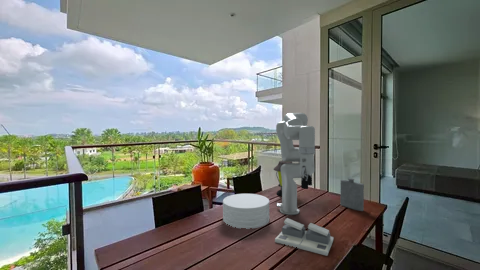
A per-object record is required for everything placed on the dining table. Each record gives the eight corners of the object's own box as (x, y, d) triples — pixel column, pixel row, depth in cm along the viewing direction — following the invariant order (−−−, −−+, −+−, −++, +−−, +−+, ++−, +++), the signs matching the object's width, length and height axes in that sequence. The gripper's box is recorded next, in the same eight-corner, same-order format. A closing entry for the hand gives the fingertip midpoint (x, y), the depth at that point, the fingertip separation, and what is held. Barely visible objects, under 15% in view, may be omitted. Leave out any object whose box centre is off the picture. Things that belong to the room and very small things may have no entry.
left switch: (283, 223, 117) (284, 220, 117) (286, 220, 121) (287, 217, 120) (301, 230, 112) (301, 228, 112) (303, 227, 116) (304, 224, 116)
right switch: (307, 228, 111) (308, 225, 111) (309, 224, 114) (310, 222, 114) (326, 236, 106) (327, 234, 106) (328, 232, 110) (329, 230, 110)
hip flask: (364, 210, 152) (364, 180, 151) (361, 211, 150) (361, 181, 149) (342, 203, 165) (342, 176, 165) (338, 205, 163) (338, 176, 162)
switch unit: (274, 242, 111) (274, 232, 111) (286, 229, 125) (286, 221, 125) (327, 255, 99) (327, 245, 99) (333, 240, 113) (333, 231, 113)
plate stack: (213, 223, 134) (213, 203, 134) (236, 208, 159) (236, 191, 159) (258, 233, 121) (258, 211, 121) (275, 215, 146) (275, 197, 145)
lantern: (291, 190, 202) (291, 155, 201) (305, 196, 184) (305, 158, 183) (266, 193, 193) (266, 157, 192) (278, 199, 175) (278, 160, 174)
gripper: (310, 153, 105) (310, 192, 105) (318, 149, 119) (318, 184, 120) (293, 152, 108) (293, 190, 109) (304, 149, 123) (303, 182, 124)
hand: (306, 186), depth 115 cm, fingers open, 6 cm apart
